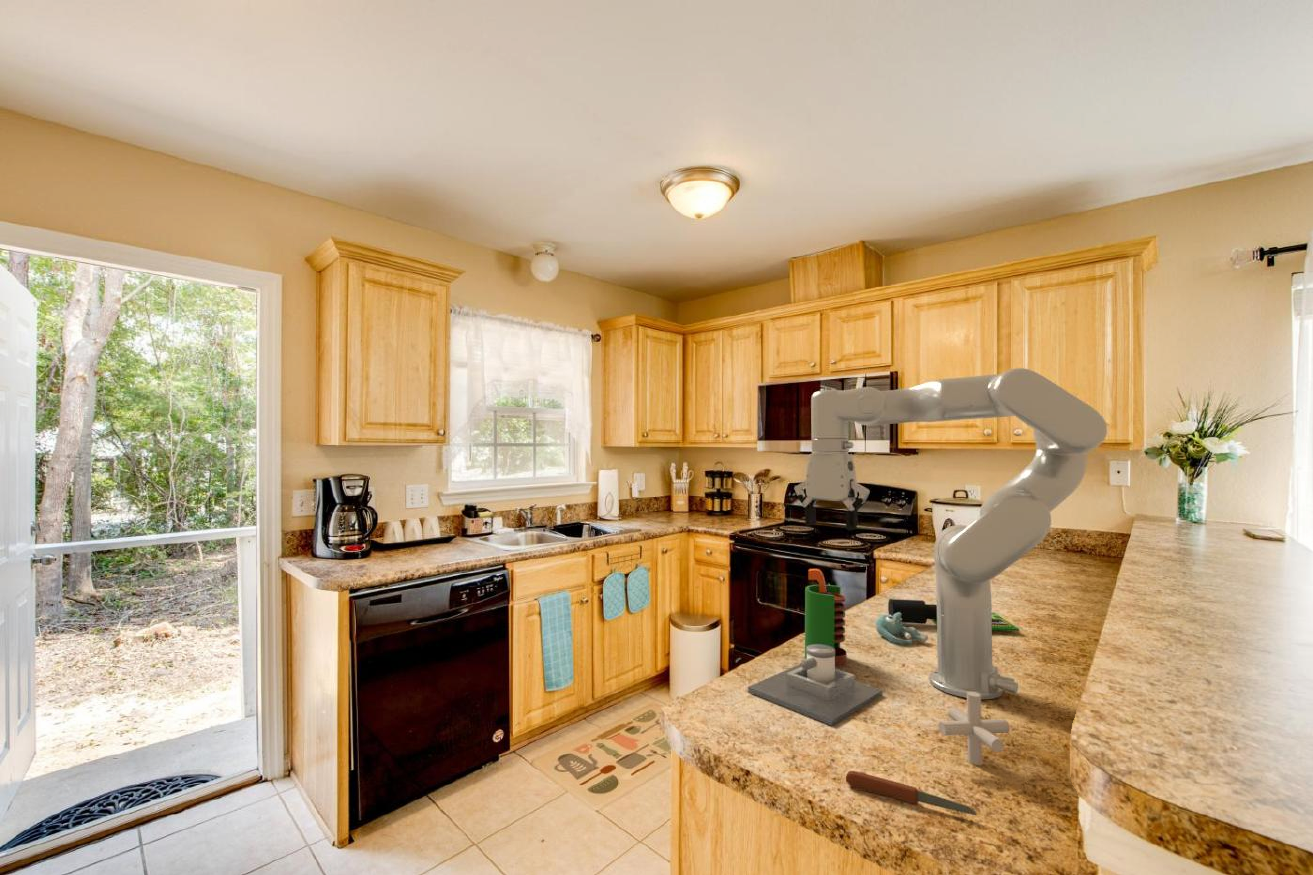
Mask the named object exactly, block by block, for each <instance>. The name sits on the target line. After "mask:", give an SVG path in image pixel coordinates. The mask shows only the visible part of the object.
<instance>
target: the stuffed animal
mask: <svg viewBox="0 0 1313 875" xmlns="http://www.w3.org/2000/svg"><path fill="white" fill-rule="evenodd" d="M900 617H901V613H900V612H898V613H895V614H894V615H889V613H884V614H882V615H880V616H879V617H877V619H876V620H875V628H876V632H877V633H878V635H879V636H881V637H883V638H885V637H886V639H887V640H888V641H889V642H890V643H893V644H895V643H896V644H897V645H901V644H902V645H912V642H913V641H914V640H915V641H916V640H917V641H919V642H920V643H924V644H925V643H926V642H927V641H928V635H926V634H924V633H919V632H918V630H917V629H916V628H915V627H914V626H908V627H906V626H904V623H902V621H901V620H902V619H901V618H900ZM900 636H901V638H900ZM902 637H904V638H903V639H902Z"/></svg>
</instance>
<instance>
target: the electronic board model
mask: <svg viewBox="0 0 1313 875" xmlns="http://www.w3.org/2000/svg"><path fill="white" fill-rule="evenodd" d="M887 606H888V608H887V609H888V614H889V615H894V614H895V613H898V612H900V613H901V617H900V618H901V619H902V620H901V621H902V623H903V624H918V625H919V624H922V625H925V624H927V620H932V621H933V622H934V623H936V624H937V604H928V603H927V604H926V602H925V601H924V600H922V599H909V598H907V599H904V598H889V600H888V603H887ZM991 620H992V631H1011V632H1012V631H1013V632H1014V631H1016V632H1020V629H1019V628H1018V627H1016V626H1015V625H1014V624H1012V623H1011V622H1009V621H1008V620H1006V619H1005V618H1003V617H1001V616H1000V615H999V614H997V613H995V612H991Z"/></svg>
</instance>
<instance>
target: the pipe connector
mask: <svg viewBox="0 0 1313 875" xmlns="http://www.w3.org/2000/svg"><path fill="white" fill-rule="evenodd" d="M981 700H982V699H981V695H980V694H979V693H977V692H972V691H968V692H967V698H966V713H965V712H963V711H962V710H961V709H959V708H958V707H956V706H951V707H950V708H948V712H947V714H948V716H949V718H951V719H952V720H949V721H947V720H946V721H939V722H938V730H939V732H940V734H941V735H943V736H961V735H967V762H969V763H970V764H971V765H974V766H982V765H983V754H982V753H983V751H982V749H983V748H982V747H983V746H982V743H983V744H984V745H986V746H987V747H988V748H990V749H991V750H992V751H994V752H996V753H999V752H1001V751H1003V749H1004V745H1005V744H1004V741H1002V740H1001V739H1000V738H999V737H997V736H996V735H995V734H1003V733H1004V734H1006V733H1010V729H1011V728H1010V724H1009V722H1008V720H1006V719H1004V718H997V719H996V718H995V719H993V718H992V719H982V701H981Z"/></svg>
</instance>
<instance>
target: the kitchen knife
mask: <svg viewBox="0 0 1313 875" xmlns="http://www.w3.org/2000/svg"><path fill="white" fill-rule="evenodd" d="M845 781H846V783H847V784H848V785H849V786H851V787H852V788H854V789H856V788H858V789H857V790H860V789H861V790H860V791H863V790H865V791H864V792H868V791H869V792H868V793H872V792H873V793H874V794H876V795H882V796H887V797H890V798H896V799H899V800H902V801H904V802H907V803H909V804H911V803H912V804H911V805H914V804H915V806H916V805H917V804H918V803H919V802H920V803H923V804H927V805H931V806H935V807H937V808H938V807H939V808H942V809H946V810H951V811H955V812H960V813H963V814H968V815H972V816H977V815H978V814H977V812H976V811H975V810H974V809H973V808H972V807H970V806H968V805H966V804H962V803H959V802H956V801H953V800H950V799H948V798H944V797H941V796H937V795H934V794H931V793H927V792H926V791H925V792H924V791H921V790H918V788H916V786H912V785H908V784H904V783H901V782H898V781H897V782H896V781H893V780H891V779H886V778H883V777H880V776H879V777H878V776H875V775H873V774H872V775H871V774H867V773H865V772H859V771H856V770H849V771H848V772H847V773H846V775H845Z"/></svg>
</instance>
